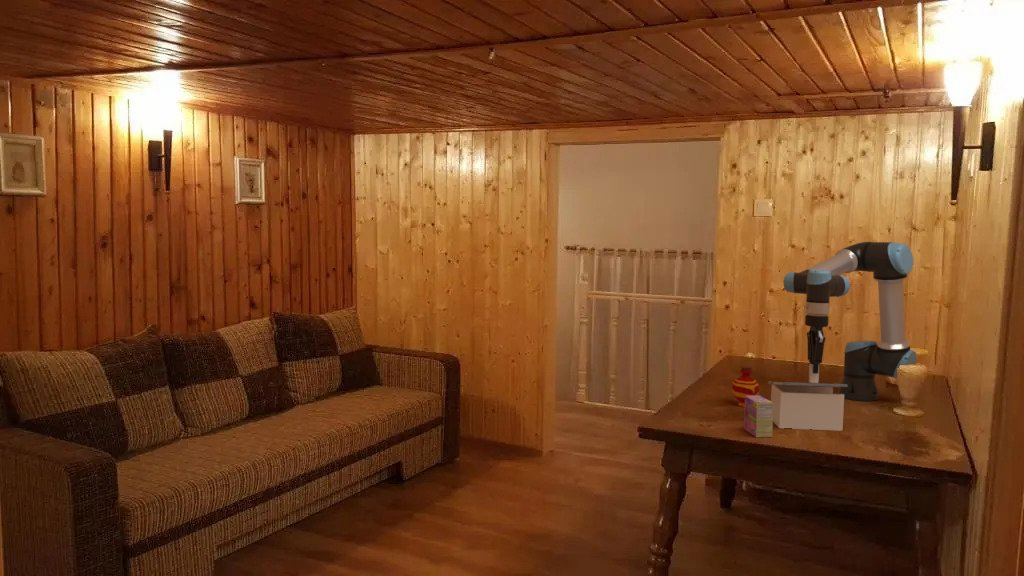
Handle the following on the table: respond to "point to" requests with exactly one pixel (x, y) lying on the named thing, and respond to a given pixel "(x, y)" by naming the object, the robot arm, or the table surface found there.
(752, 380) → the potion bottle
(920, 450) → the table surface
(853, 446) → the table surface
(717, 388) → the table surface
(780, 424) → the white lidded container
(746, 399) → the box
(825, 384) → the box lid
